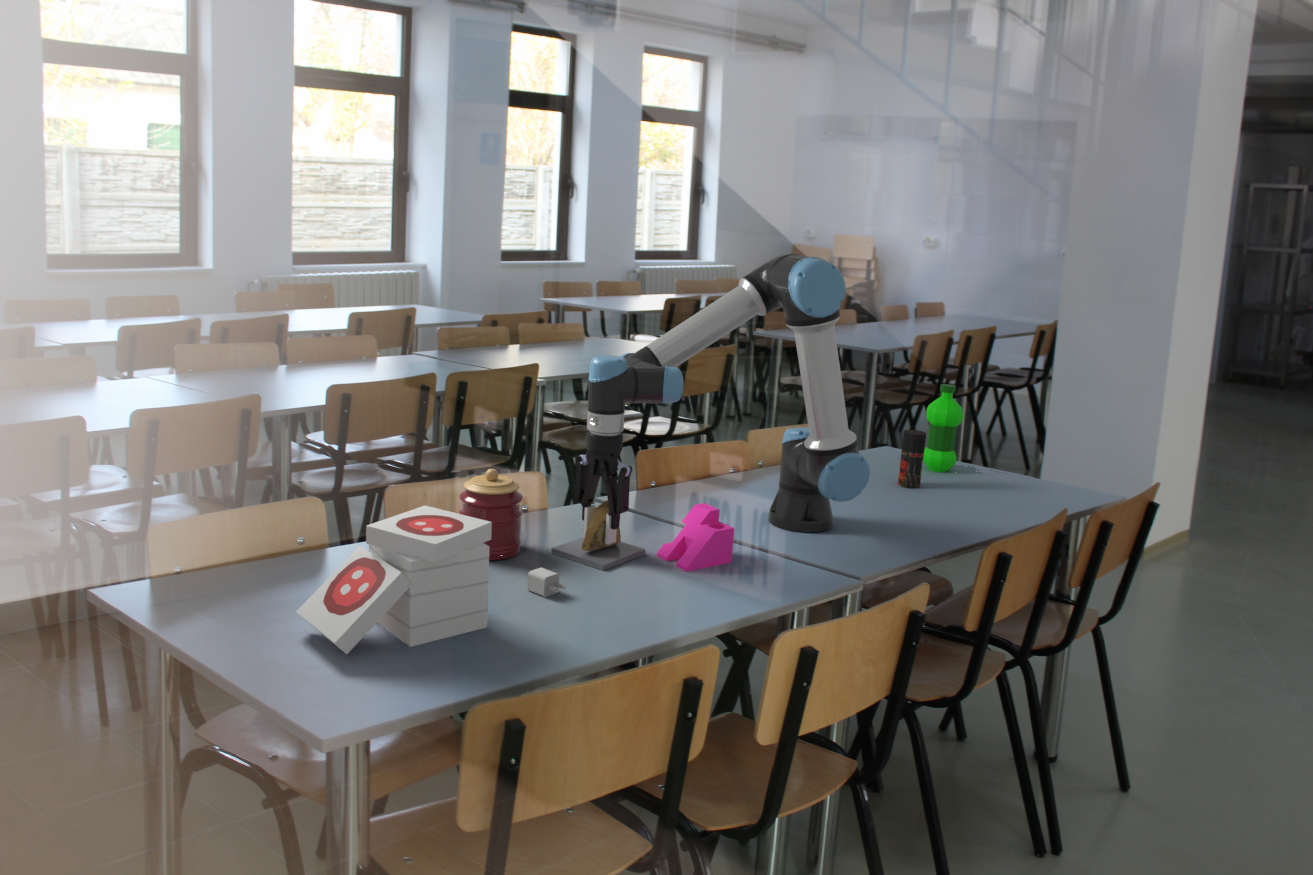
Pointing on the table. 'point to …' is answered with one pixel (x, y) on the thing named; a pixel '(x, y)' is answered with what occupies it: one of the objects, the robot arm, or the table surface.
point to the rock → (598, 530)
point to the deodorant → (911, 459)
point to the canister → (495, 511)
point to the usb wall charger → (543, 582)
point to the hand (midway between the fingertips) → (599, 539)
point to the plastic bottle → (942, 430)
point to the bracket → (700, 540)
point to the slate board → (598, 554)
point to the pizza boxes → (408, 581)
